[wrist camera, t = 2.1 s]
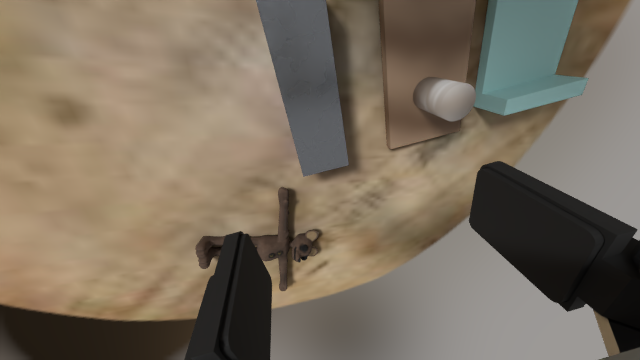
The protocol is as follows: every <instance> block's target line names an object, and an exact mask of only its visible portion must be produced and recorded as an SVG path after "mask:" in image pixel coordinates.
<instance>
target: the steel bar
mask: <svg viewBox="0 0 640 360" xmlns="http://www.w3.org/2000/svg"><path fill="white" fill-rule="evenodd" d="M256 2H257V6H258V10H259V13H260V17H261V21H262V24H263V28H264V32H265V36H266V39H267V43H268V47H269V50H270V54H271V58H272V62H273V65H274V69H275V73H276V76H277V80H278V84H279V88H280V91H281V95H282V99H283V102H284V106H285V110H286V113H287V117H288V121H289V125H290V128H291V132H292V136H293V139H294V143H295V147H296V151H297V154H298V158H299V162H300V165H301V169H302V173H303V177H304V176H308V175H312V174H316V173H320V172H324V171H328V170H332V169H336V168H340V167H344V166H347V165H349V163H348V156H347V149H346V142H345V134H344V127H343V120H342V113H341V106H340V99H339V92H338V84H337V77H336V70H335V63H334V56H333V49H332V42H331V34H330V27H329V20H328V13H327V6H326V0H256Z"/></svg>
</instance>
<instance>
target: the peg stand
mask: <svg viewBox="0 0 640 360" xmlns="http://www.w3.org/2000/svg"><path fill="white" fill-rule="evenodd" d="M475 5H476V0H379V15H380V33H381V51H382V68H383V86H384V104H385V121H386V139H387V146H388V147H389V148H390V149H394V148H397V147H401V146H405V145H409V144H412V143H416V142H420V141H424V140H427V139H431V138H435V137H438V136H442V135H446V134H450V133H453V132H457V131H460V125H461V119H462V118H463V117H465V116H466V115H467V114H468V113H469V112H470V111H471V109H472V108H473V106H474V103H475V100H476V92H475V89H474V88H473V86H471V85H470V84H467V83H466V77H467V69H468V61H469V53H470V45H471V37H472V29H473V21H474V13H475Z"/></svg>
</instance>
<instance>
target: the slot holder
mask: <svg viewBox="0 0 640 360" xmlns="http://www.w3.org/2000/svg"><path fill="white" fill-rule="evenodd" d="M577 3H578V0H489V1H488V8H487V15H486V21H485V28H484V35H483V42H482V48H481V55H480V62H479V69H478V75H477V82H476V89H475V92H476V100H475V103H474V107H477V108H481V109H484V110H487V111H490V112H494V113H497V114H500V115H503V116H504V115H508V114H512V113H516V112H519V111H523V110H527V109H531V108H534V107H538V106H542V105H546V104H549V103H553V102H557V101H561V100H564V99H568V98H572V97H575V96H579V95H582V93H583V91H584V89H585V86H586V83H587V81H588V78H582V77H572V76H563V75H555V73H556V70H557V66H558V63H559V60H560V57H561V54H562V51H563V47H564V44H565V41H566V38H567V35H568V32H569V28H570V25H571V22H572V19H573V16H574V12H575V9H576V6H577Z"/></svg>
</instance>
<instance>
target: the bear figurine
mask: <svg viewBox="0 0 640 360" xmlns="http://www.w3.org/2000/svg"><path fill="white" fill-rule="evenodd" d="M278 197H279V204H280V212H279V227H278V236H277V235H273V236H270V235H265V236H261V237H250V238H251V240H252V242H253V244H254V245H256V246H257V248H256V250H257V252H258V254H259V255H260V257H261V259H262V260H263V261H270V260H273V259H276V258H278V261H279V270H280V284H279V289H280V290H281V291H285V290H286V289H287V262H288V259H287V254H288V251H289V248H290V247H292V258H293V260H295V261H297V262H300V261H301V259H302V260H306V259H307V256H315V255H316V254H317V253H318V250H317V248H316V247H312V243H313V241H314V240H316V239H317V238H318V232H317V231H315V230H309V231H307V232H306V233H302V234H299V235H297V236H296V238H295V239H294V240H293V241H292V242H290V241H289V237H288V234H289V230H288V214H289V211H288V203H289V200H288V198H289V192H288V190H287V189H286V188H284V187H281V188H280V189H279V191H278ZM224 238H225V236H224V237H212V236H203V237H202V239H201V240H200V241H199V243H198V244H197V245H196V255H197V257H198V258H199V260H198V261H199V266H200V267H201V268H202V269H206V268H208V267H209V265H210V262H211V260H212V258H213V257H214V256H220V252H221V249H222V247H211V246H213V245H223V242H224ZM300 258H301V259H300Z"/></svg>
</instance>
